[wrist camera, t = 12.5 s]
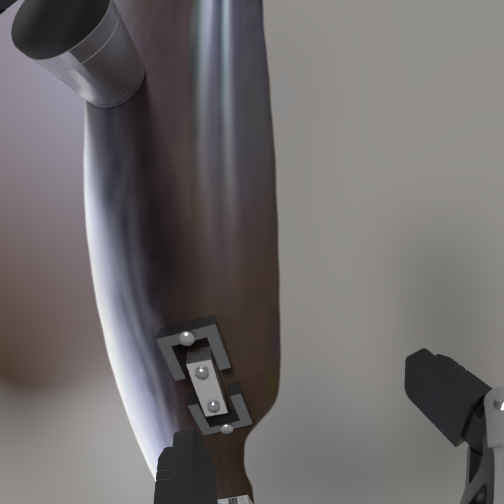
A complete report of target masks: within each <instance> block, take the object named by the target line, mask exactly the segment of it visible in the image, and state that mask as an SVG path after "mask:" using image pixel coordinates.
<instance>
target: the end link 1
mask: <svg viewBox="0 0 504 504" xmlns="http://www.w3.org/2000/svg"><path fill="white" fill-rule="evenodd" d="M206 337H207V338H208V341H209V344H210V346H211V349H212V352H213V354H214V357H215V359H216V362H217V365H218V367H219V370H223V369H227V368H230V367H231V365H230V358H229V354H228V352H227V349H226V346H225V343H224V340H223V337H222V334H221V332H220V329H219V326H218V323H217V320H216V317H215V315H213V316H209V317H205V318H202V319H198V320H194V321H191V322H187V323H183V324H179V325H175V326H171V327H167V328H164V329H160V330H159V332H158V335H157V338H156V340H157V343H158V345H159V347H160V349H161V352H162V354H163V356H164V358H165V361H166V363H167V365H168V367H169V369H170V371H171V373H172V376H173V378H174V380H175V381H177V380H181V379H186V369H187V367H186V365H185V362H184V360H183V358H182V355H181V353H180V351H179V348H178V346H177V345H178V344H183V345H185V346H190V345H192V344H193V343H194V340H198V339H202V338H206Z"/></svg>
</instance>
